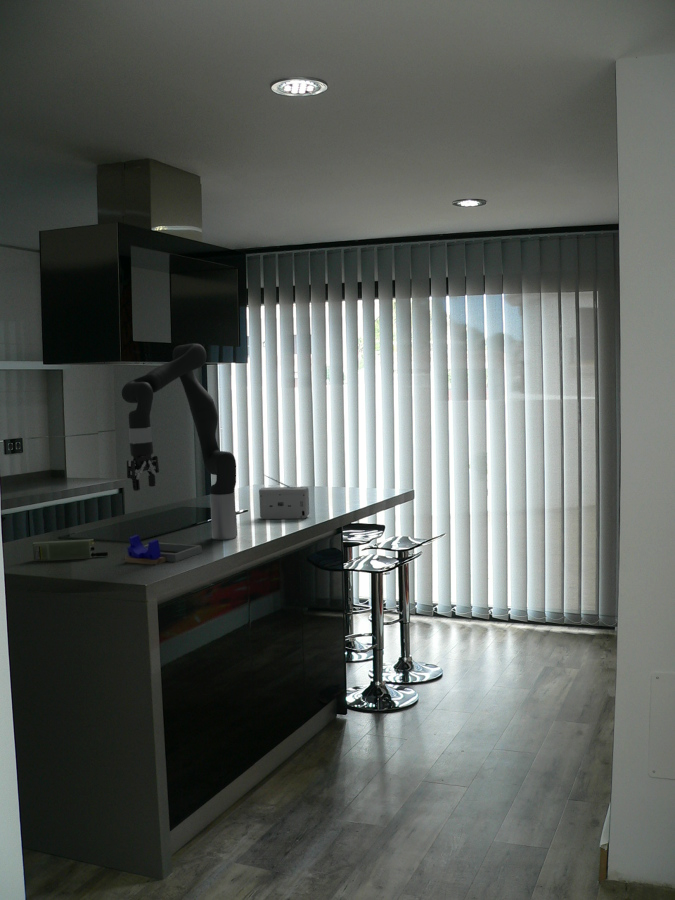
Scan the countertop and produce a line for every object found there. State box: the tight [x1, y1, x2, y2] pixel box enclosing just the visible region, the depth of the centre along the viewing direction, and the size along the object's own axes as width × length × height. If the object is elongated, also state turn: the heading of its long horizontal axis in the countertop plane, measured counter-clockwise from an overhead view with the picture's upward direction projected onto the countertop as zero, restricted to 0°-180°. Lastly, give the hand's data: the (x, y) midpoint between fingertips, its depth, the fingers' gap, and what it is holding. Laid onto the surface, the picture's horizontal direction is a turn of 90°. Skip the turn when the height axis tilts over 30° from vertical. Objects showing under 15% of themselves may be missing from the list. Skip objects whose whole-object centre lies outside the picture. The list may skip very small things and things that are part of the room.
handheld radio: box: [32, 538, 109, 562], centre depth 297 cm, size 7×3×25 cm
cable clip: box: [126, 534, 162, 560], centre depth 287 cm, size 12×4×6 cm, turn 50°
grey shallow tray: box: [126, 542, 203, 563], centre depth 297 cm, size 15×20×2 cm
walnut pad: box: [124, 556, 166, 565], centre depth 287 cm, size 5×13×2 cm, turn 64°
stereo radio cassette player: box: [258, 474, 310, 520], centre depth 366 cm, size 21×8×20 cm, turn 84°
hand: (144, 488), depth 291 cm, fingers open, 8 cm apart
